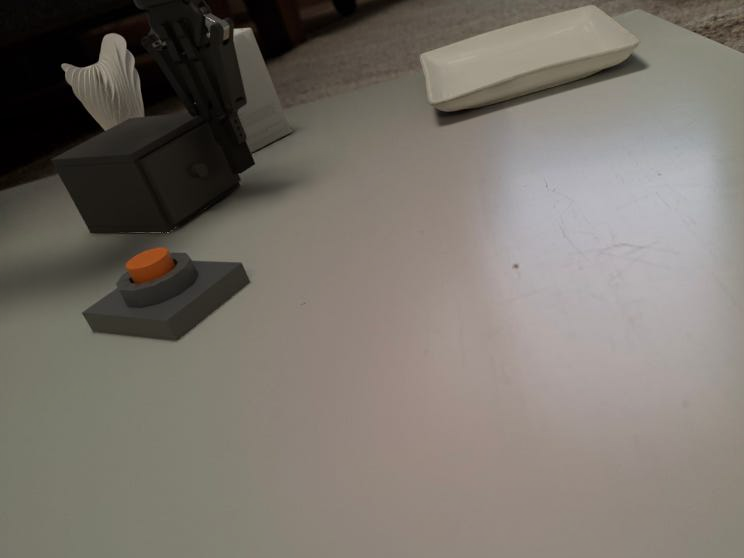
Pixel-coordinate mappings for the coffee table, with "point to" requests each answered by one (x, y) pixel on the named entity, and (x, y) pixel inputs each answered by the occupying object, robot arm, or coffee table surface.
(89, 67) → the shell sculpture
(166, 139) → the grey drawer box
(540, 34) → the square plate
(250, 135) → the rectangular carton
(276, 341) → the coffee table surface
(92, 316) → the control block
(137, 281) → the button
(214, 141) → the pull-out drawer with knob
